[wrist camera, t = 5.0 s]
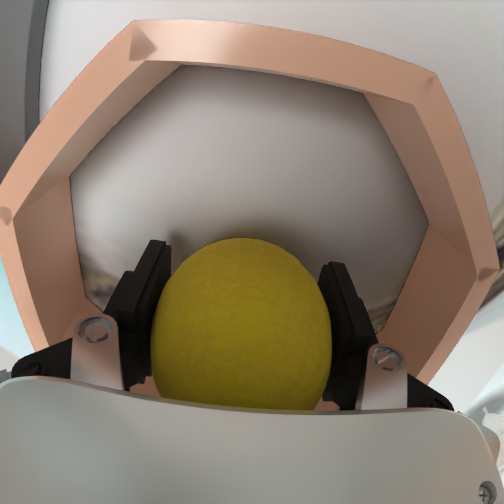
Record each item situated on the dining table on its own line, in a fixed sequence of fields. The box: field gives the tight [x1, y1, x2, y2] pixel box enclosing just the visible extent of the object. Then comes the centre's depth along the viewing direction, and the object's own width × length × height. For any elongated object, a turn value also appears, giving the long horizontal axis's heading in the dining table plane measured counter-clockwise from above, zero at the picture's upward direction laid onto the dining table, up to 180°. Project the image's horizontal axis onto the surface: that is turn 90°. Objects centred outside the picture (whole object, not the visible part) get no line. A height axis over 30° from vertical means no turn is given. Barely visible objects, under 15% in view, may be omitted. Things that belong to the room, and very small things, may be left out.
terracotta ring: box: [0, 19, 500, 411], centre depth 12 cm, size 17×17×4 cm
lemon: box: [150, 237, 332, 411], centre depth 10 cm, size 6×6×8 cm
